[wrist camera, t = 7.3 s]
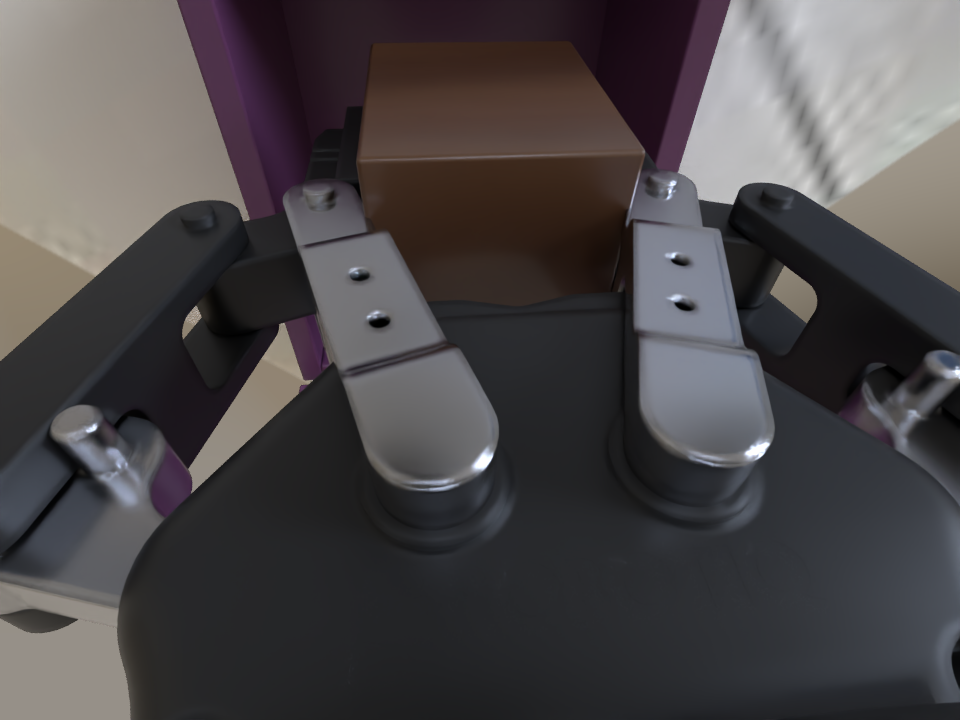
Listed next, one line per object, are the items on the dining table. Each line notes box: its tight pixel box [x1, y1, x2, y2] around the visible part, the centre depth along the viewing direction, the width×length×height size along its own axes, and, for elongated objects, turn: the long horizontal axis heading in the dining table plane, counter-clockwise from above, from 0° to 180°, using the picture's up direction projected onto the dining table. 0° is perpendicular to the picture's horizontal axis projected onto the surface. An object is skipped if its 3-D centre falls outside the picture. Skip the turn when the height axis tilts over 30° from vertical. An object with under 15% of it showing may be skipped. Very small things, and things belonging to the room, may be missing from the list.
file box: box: [177, 0, 731, 380], centre depth 18 cm, size 15×13×8 cm
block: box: [356, 41, 645, 306], centre depth 11 cm, size 4×4×5 cm
